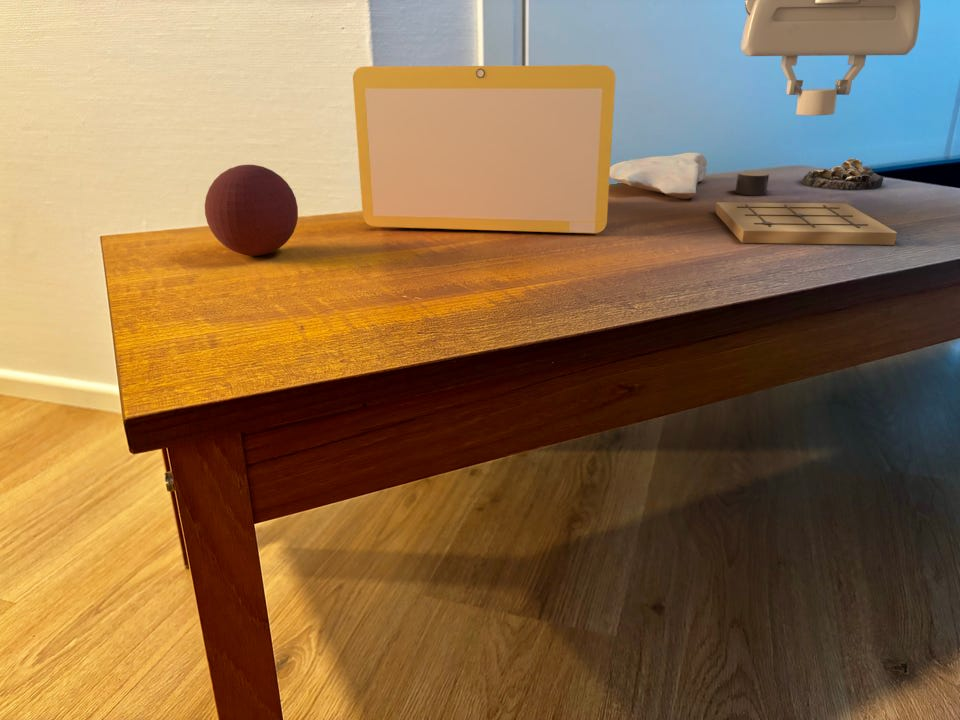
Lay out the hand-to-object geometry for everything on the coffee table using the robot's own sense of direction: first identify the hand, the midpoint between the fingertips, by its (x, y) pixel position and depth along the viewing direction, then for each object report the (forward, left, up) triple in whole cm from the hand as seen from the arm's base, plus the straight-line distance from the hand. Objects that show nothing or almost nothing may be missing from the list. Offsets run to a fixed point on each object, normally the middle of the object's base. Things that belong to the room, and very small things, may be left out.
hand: (817, 94), depth 94 cm
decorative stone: (+18, -19, -16) cm, 30 cm away
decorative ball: (+67, +26, -16) cm, 73 cm away
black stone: (+3, -15, -15) cm, 22 cm away
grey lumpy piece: (-13, -24, -16) cm, 32 cm away
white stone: (0, 0, -2) cm, 2 cm away
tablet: (+39, +10, -16) cm, 43 cm away
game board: (+3, +9, -15) cm, 18 cm away
